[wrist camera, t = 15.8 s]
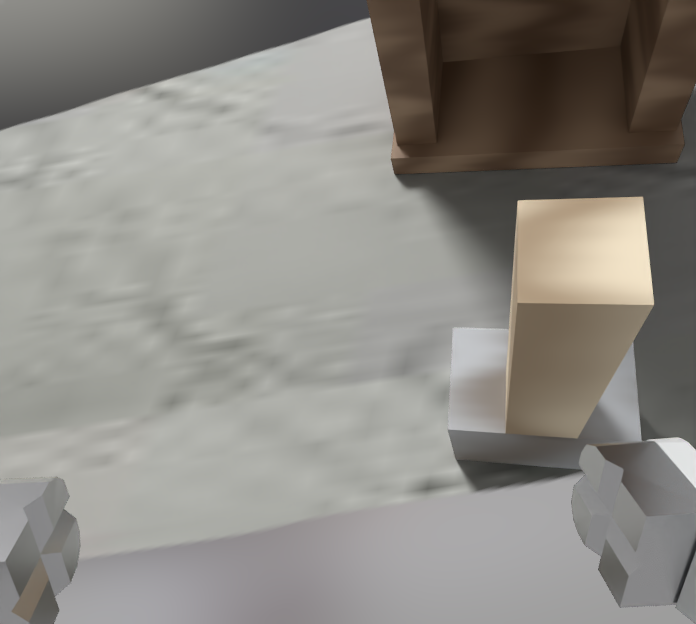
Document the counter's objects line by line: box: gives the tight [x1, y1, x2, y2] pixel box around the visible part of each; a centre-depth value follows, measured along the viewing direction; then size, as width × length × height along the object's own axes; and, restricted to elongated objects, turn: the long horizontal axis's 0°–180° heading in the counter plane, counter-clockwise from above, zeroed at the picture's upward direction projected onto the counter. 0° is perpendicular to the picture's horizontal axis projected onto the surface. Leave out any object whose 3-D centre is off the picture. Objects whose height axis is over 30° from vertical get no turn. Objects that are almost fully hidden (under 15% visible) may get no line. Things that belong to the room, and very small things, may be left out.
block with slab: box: [448, 197, 654, 470], centre depth 20 cm, size 7×18×4 cm
